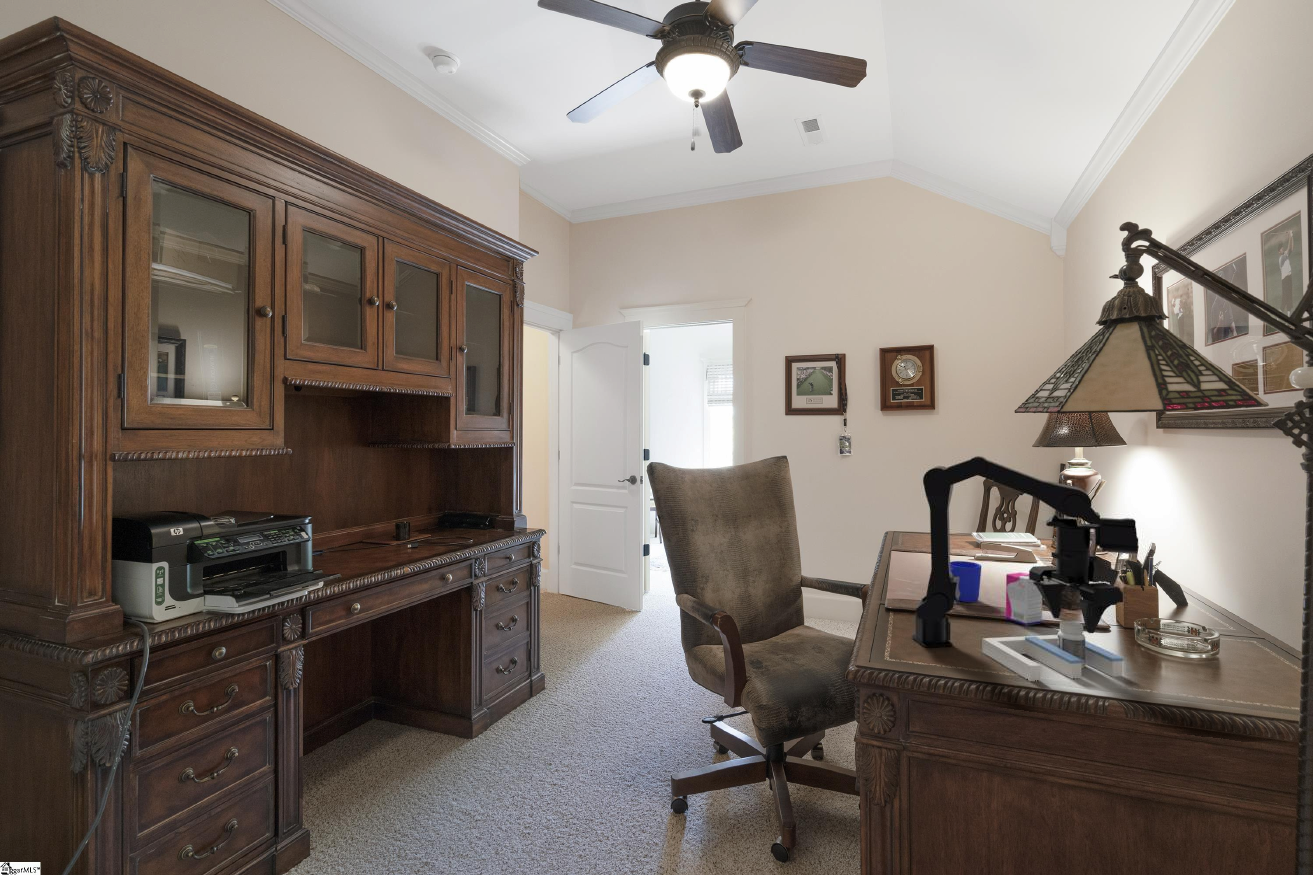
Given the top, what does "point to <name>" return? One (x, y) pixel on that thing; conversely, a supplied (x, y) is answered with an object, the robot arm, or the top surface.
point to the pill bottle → (1072, 639)
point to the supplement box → (1022, 600)
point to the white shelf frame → (1048, 656)
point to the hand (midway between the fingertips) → (1072, 625)
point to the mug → (967, 579)
